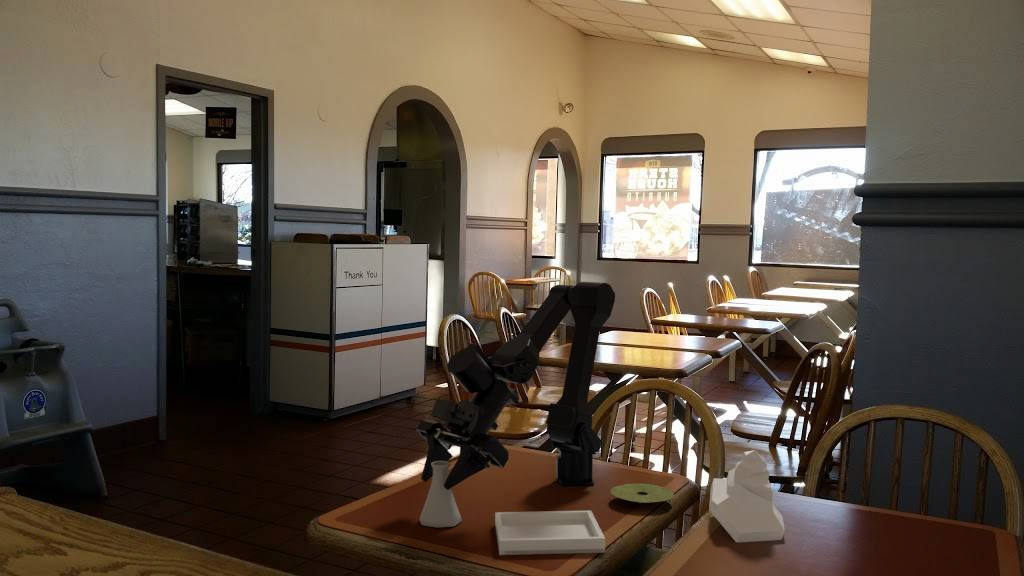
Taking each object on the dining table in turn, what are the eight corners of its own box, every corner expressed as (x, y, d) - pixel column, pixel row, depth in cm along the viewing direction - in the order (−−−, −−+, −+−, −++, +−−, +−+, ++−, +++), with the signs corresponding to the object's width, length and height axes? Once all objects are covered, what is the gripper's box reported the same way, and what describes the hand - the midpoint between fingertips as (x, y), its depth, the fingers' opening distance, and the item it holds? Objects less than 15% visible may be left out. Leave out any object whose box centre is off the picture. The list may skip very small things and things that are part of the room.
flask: (465, 515, 143) (465, 458, 142) (458, 530, 136) (458, 469, 135) (423, 514, 144) (423, 456, 143) (414, 528, 136) (414, 468, 136)
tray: (590, 523, 139) (591, 510, 139) (605, 552, 126) (605, 538, 126) (495, 525, 138) (495, 512, 138) (499, 555, 125) (499, 540, 125)
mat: (600, 496, 154) (600, 485, 154) (655, 490, 157) (655, 480, 157) (627, 515, 143) (627, 504, 143) (685, 509, 147) (685, 498, 146)
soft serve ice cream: (778, 525, 143) (803, 450, 140) (776, 564, 129) (803, 482, 126) (707, 500, 147) (729, 426, 143) (696, 535, 132) (721, 454, 129)
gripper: (424, 374, 148) (372, 446, 141) (496, 387, 134) (443, 468, 127) (458, 411, 154) (410, 482, 147) (530, 428, 140) (481, 507, 133)
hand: (434, 484), depth 138 cm, fingers open, 6 cm apart
